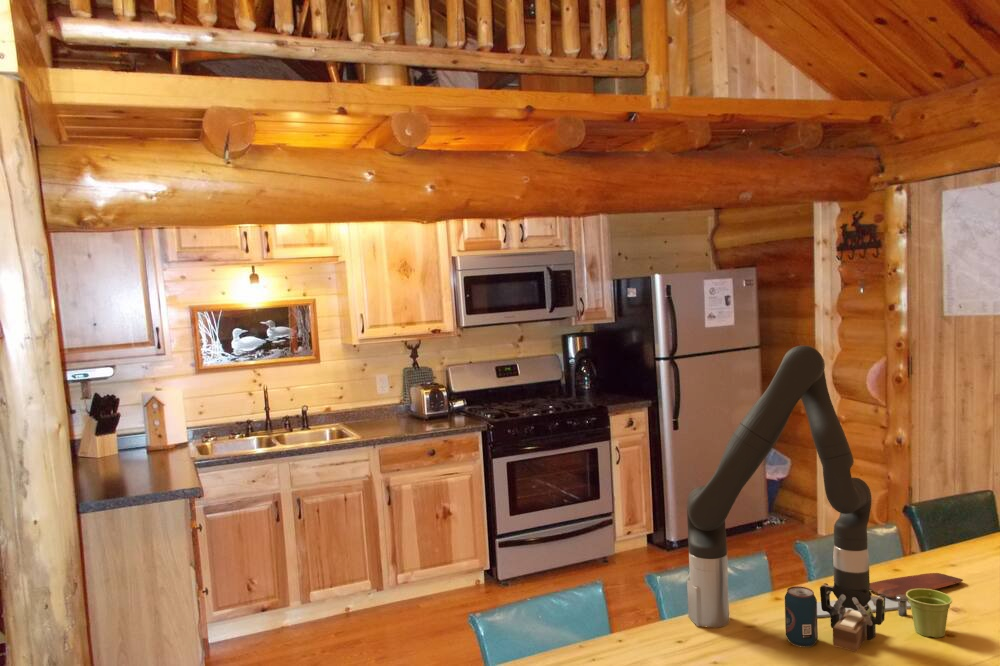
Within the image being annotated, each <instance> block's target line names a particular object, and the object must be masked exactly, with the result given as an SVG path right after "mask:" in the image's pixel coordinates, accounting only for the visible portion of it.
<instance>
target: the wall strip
mask: <svg viewBox="0 0 1000 666" xmlns="http://www.w3.org/2000/svg"><path fill="white" fill-rule="evenodd" d="M876 596H877V597H880V596H881V595H876ZM884 597H885V596H884ZM837 600H838V599H834V600H830V605H831V606H832V607H833V606H834V604H835V601H837ZM868 604H869V606H870V608H871V610H872V613H876V606H874V604H873V601H871V600H870V601H869V602H868ZM849 609H850V610H853V609H851V608H846V612H847V611H848V610H849ZM907 609H911V605H910V603H909V601H907ZM895 610H898V600H897V599H896V598H888V597H885V612H886V611H895ZM854 611H857V610H854ZM858 612H859V610H858ZM827 617H828V618H829V617H831V616H830V614H829V613H828V612H826V611H823V610H822V608H821V601H817V619H818V618H827Z"/></svg>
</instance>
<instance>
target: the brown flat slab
mask: <svg viewBox="0 0 1000 666" xmlns="http://www.w3.org/2000/svg"><path fill="white" fill-rule="evenodd" d="M963 581H964V579H962V578H959V577H956V576H952V575H948V574H945V573H938V572H927V573H921V574H915V575H906V576H899V577H894V578H887V579H883V580H877V581H873V582H870V592H872V593H875V594H879V596H885V597H888V598H896V595H898V594H902V595H906V592H907V591H909V590H912V589H931V590H937V589H942V588H944V587H948V586H952V585H955V584H958V583H961V582H963Z"/></svg>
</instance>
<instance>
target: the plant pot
mask: <svg viewBox="0 0 1000 666" xmlns="http://www.w3.org/2000/svg"><path fill="white" fill-rule="evenodd" d="M906 596H907V598H908V599H909V601H908V603H910V605H911V608H910V609H911V615H912V622H913V626H914V627H913V628H914V630H915V633H916V634H919V635H921V636H923V637H927V638H928V637H933V638H935V639H936V638H939V639H940V638H942V637H944V636H945V635H946V628H947V622H948V613H949V609H950V607H951V604H952V603H953V597H952V596H950V595H949V594H947V593H945V592H942V591H939V590H937V589H934V590H931V589H912V590H909V591H907V592H906Z"/></svg>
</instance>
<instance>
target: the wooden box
mask: <svg viewBox="0 0 1000 666" xmlns="http://www.w3.org/2000/svg"><path fill="white" fill-rule="evenodd" d="M866 625H867V622H866V620H865V618H864V617H863V616H862V615H861V613H860V612H858V611H854V610H850V609H849V610H848V611H847V612H846V613H845V614H844V615H843V617H842V618H841V619H840V620H839V621H838V622H837V623H836V625H835V626H834V627H833V628H832V645H833V647H838V648H841V649H845V650H849V651H853V652H858V651H859V649H860V647H862V645H863V644H864V642H865V641H867V626H866Z"/></svg>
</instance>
